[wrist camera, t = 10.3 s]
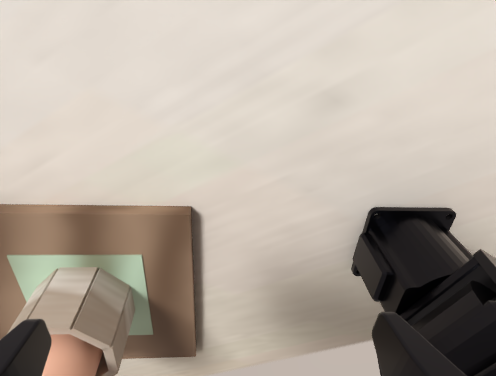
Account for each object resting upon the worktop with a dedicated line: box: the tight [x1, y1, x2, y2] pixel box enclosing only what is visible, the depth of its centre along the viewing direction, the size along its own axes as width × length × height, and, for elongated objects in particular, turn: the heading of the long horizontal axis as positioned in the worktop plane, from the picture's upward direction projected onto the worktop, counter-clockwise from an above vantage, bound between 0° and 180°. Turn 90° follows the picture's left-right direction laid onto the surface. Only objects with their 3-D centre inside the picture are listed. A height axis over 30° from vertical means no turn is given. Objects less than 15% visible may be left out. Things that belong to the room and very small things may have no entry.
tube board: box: [0, 204, 196, 376], centre depth 23 cm, size 16×16×6 cm
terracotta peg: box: [42, 334, 103, 376], centre depth 21 cm, size 4×4×9 cm
